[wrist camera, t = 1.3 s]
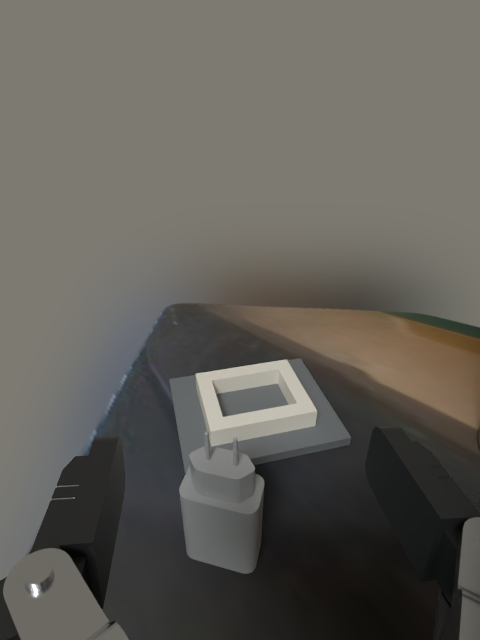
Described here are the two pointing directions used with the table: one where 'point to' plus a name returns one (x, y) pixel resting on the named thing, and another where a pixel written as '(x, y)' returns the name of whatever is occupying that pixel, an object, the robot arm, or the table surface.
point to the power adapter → (222, 508)
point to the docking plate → (256, 412)
